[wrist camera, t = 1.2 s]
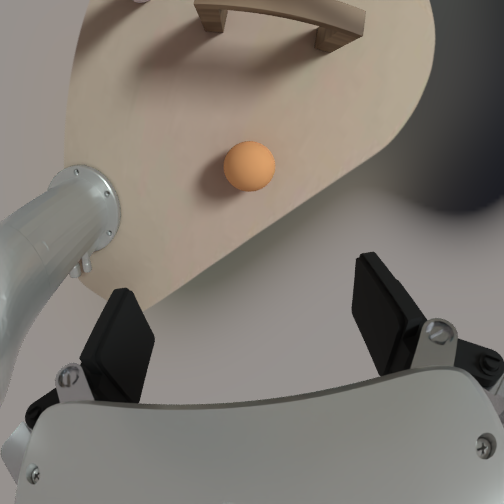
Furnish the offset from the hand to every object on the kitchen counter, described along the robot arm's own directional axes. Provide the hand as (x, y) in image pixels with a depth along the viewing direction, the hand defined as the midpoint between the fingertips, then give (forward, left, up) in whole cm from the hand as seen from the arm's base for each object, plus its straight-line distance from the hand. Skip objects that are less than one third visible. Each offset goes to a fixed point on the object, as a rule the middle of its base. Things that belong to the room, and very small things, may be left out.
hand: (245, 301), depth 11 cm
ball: (+1, -1, -21) cm, 21 cm away
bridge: (+18, -1, -24) cm, 30 cm away
